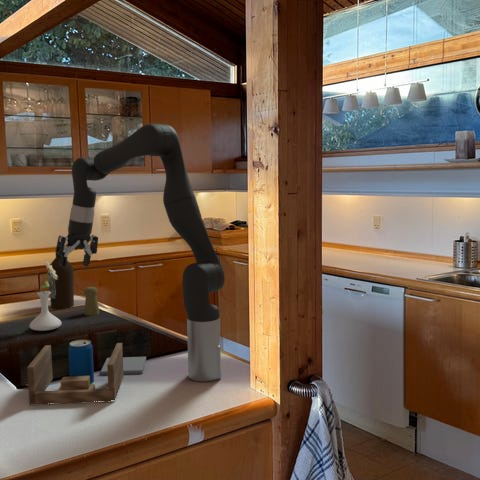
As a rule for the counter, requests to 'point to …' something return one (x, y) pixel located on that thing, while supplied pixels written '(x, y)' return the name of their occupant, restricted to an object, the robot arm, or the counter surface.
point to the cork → (91, 301)
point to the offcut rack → (43, 376)
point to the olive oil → (61, 285)
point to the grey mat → (128, 365)
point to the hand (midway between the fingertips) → (74, 266)
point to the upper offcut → (75, 383)
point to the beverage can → (81, 359)
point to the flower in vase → (45, 308)
